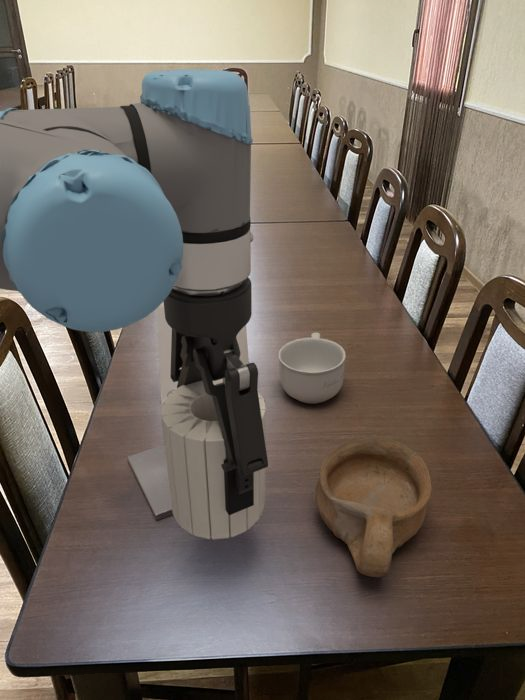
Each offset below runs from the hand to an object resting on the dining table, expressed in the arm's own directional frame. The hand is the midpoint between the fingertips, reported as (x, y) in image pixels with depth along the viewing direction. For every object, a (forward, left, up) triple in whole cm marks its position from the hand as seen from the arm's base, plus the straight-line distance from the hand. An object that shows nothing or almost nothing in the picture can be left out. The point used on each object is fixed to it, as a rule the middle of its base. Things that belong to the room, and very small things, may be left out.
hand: (216, 473), depth 56 cm
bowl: (+17, -6, -13) cm, 22 cm away
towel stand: (+1, +14, -13) cm, 19 cm away
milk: (+12, +31, -13) cm, 36 cm away
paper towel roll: (0, 0, -4) cm, 4 cm away
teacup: (+28, +23, -13) cm, 38 cm away
